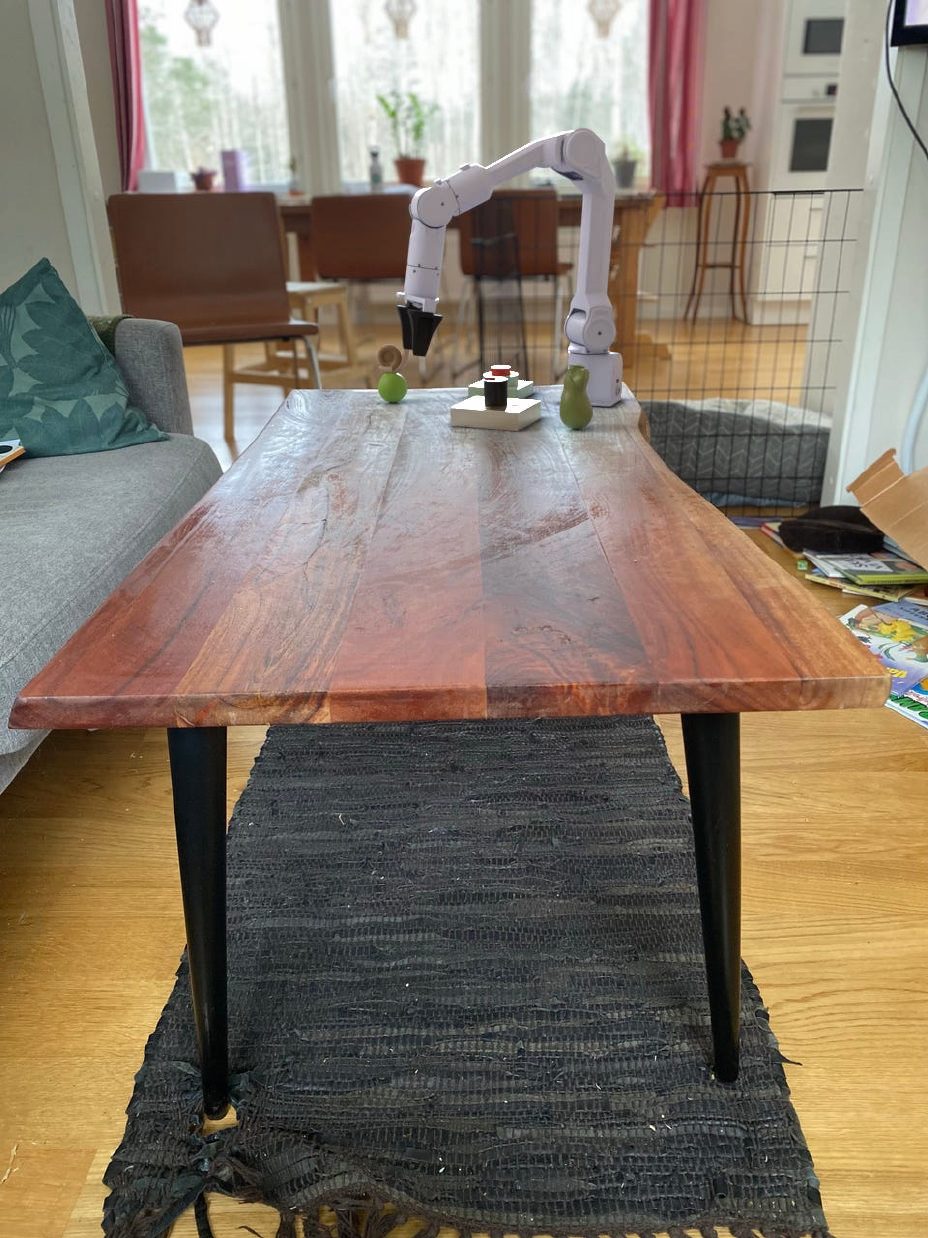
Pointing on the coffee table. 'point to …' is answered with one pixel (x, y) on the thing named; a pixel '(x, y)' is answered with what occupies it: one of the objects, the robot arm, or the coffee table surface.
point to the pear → (575, 398)
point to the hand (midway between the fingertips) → (414, 352)
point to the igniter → (514, 387)
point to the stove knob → (495, 391)
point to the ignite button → (500, 370)
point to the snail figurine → (392, 373)
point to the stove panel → (495, 414)
